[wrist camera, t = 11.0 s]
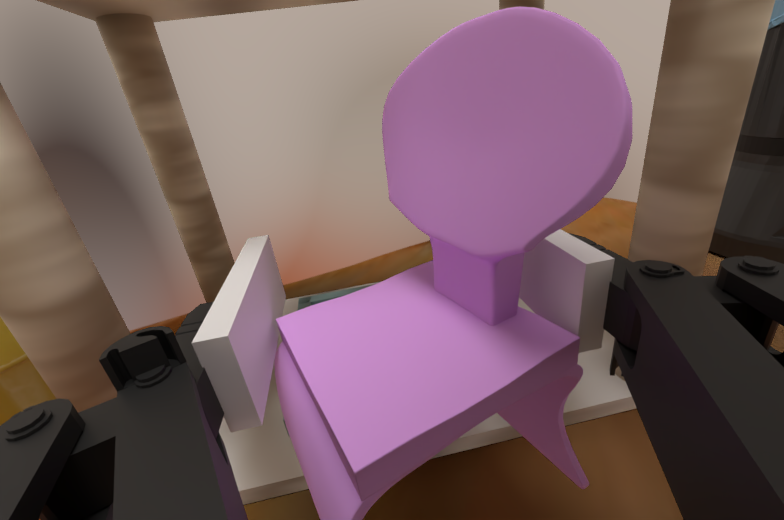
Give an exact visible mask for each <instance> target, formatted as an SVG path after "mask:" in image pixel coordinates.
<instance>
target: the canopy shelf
mask: <svg viewBox="0 0 784 520" xmlns="http://www.w3.org/2000/svg"><path fill="white" fill-rule="evenodd" d="M37 1H40V2H43V3H46V4H49V5H51V6H54V7H57V8H60V9H63V10H66V11H69V12H71V13H74V14H77V15H80V16H83V17H86V18H88V19H91V20H94V21H96V23H97V26H98V28H99V31H100V33H101V36H102V38H103V41H104V44H105V46H106V49H107V51H108V54H109V56H110V59H111V61H112V64H113V66H114V69H115V72H116V74H117V77H118V79H119V82H120V84H121V87H122V89H123V92H124V94H125V97H126V99H127V102H128V105H129V107H130V110H131V112H132V115H133V117H134V119H135V122H136V125H137V127H138V130H139V132H140V135H141V138H142V140H143V143H144V145H145V147H146V150H147V153H148V155H149V158H150V160H151V163H152V165H153V168H154V171H155V173H156V176H157V178H158V181H159V183H160V185H161V188H162V191H163V193H164V196H165V198H166V201H167V203H168V206H169V209H170V211H171V214H172V216H173V219H174V221H175V224H176V226H177V229H178V232H179V234H180V237H181V239H182V242H183V244H184V247H185V249H186V252H187V254H188V257H189V259H190V262H191V265H192V267H193V269H194V272H195V275H196V277H197V280H198V282H199V285H200V287H201V290H202V292H203V295H204V298H205V300H206V302H207V303H209V302H214V300H215V299H216V297H217V295H218V293H219V291H220V289H221V288H222V286H223V284H224V282H225V280H226V278H227V276H228V275H229V273H230V271H231V269H232V267H233V265H234V264H235V263H234V260H233V257H232V254H231V251H230V248H229V245H228V242H227V239H226V236H225V234H224V230H223V227H222V224H221V222H220V218H219V215H218V212H217V209H216V207H215V204H214V201H213V198H212V195H211V192H210V189H209V186H208V183H207V180H206V178H205V174H204V171H203V168H202V165H201V162H200V159H199V156H198V153H197V150H196V147H195V144H194V141H193V139H192V135H191V133H190V130H189V127H188V124H187V121H186V118H185V115H184V112H183V109H182V106H181V103H180V100H179V97H178V94H177V91H176V88H175V85H174V82H173V79H172V76H171V73H170V70H169V67H168V64H167V61H166V58H165V55H164V53H163V50H162V47H161V44H160V41H159V38H158V35H157V32H156V29H155V26H154V23H153V22H160V21H169V20H179V19H188V18H197V17H206V16H215V15H225V14H235V13H244V12H253V11H263V10H272V9H281V8H291V7H300V6H309V5H319V4H328V3H338V2H347V1H355V0H37ZM499 2H500V3H499V10H502V9H505V8H511V7H519V6H520V7H535V8H539V9H543V10H544V0H499ZM774 3H775V0H671V3H670V9H669V15H668V21H667V27H666V34H665V39H664V46H663V51H662V57H661V63H660V69H659V75H658V81H657V87H656V93H655V99H654V106H653V111H652V117H651V123H650V130H649V135H648V141H647V148H646V153H645V159H644V166H643V171H642V178H641V183H640V189H639V196H638V201H637V207H636V213H635V219H634V225H633V231H632V237H631V243H630V249H629V255H628V260H630V261H632V262H635V261H641V260H656V261H664V262H668V263H673V264H675V265H679V266H681V267H683V268H684V269H686V270H687V271H689V272H690V273H691V274H692V275H693V276H702V273H703V270H704V266H705V262H706V258H707V255H708V251H709V247H710V243H711V240H712V236H713V232H714V228H715V225H716V221H717V217H718V213H719V210H720V206H721V202H722V198H723V195H724V191H725V187H726V183H727V180H728V176H729V172H730V168H731V164H732V161H733V157H734V153H735V149H736V146H737V142H738V138H739V134H740V131H741V127H742V123H743V119H744V116H745V112H746V108H747V104H748V101H749V97H750V93H751V89H752V86H753V82H754V78H755V74H756V71H757V67H758V63H759V59H760V56H761V52H762V48H763V44H764V41H765V37H766V33H767V29H768V26H769V22H770V18H771V14H772V11H773V7H774ZM381 282H382V281H381ZM377 283H380V282H375V283H370V284H365V285H360V286H354V287H349V288H344V289H339V290H333V291H328V292H323V293H318V294H312V295H307V296H302V297H296V298H291V299H286V300H285V305H284V310H283V316H285V315H287V314H290V313H293V312H296V311H298V310H301V309H304V308H306V307H309V306H312V305H315V304H318V303H321V302H325V301H328V300H331V299H335V298H338V297H342V296H345V295H348V294H351V293H353V292H356V291H359V290H361V289H364V288H367V287H369V286H372V285H375V284H377ZM518 306H519V307H521V308H524V309H526V310H528V311H530V312H532V313H534V312H533V311H532V310H531V309H530V308H529V307H528V306H527V305H526V304H525V303H524V302H523V301H522V300H521V299H520V298H519V300H518ZM0 317H1V319H2V320H3V321H4V323H5V324H6V326H7V327H8V329H9V330H10V332H11V333H12V335H13V336H14V337H15V339H16V340H17V342H18V343H19V345H20V346H21V348H22V349H23V351H24V352H25V354H26V355H27V356H28V358H29V359H30V361H31V362H32V364H33V365H34V367H35V368H36V370H37V371H38V372H39V374H40V375H41V377H42V378H43V380H44V381H45V383H46V384H47V386H48V387H49V389H50V390H51V391H52V393H53V394H54V396H55V397H56V399H59V398H60V399H69V401H70V402H71V403H72V404H73V406H74V407H75V409H76V410H77V412H81V411H83V410H86V409H88V408H91V407H94V406H96V405H99V404H101V403H104V402H106V401H109V400H111V399H113V398H116V397H117V391H116V389H115V387H114V386H113V384H112V382H111V380H110V379H109V377H108V375H107V374H106V372H105V370H104V369H103V367H102V365H101V363H100V362H99V359H100V357H101V355H102V353H103V352H104V351H105V350H106V349H107V348H108V347H109V346H110V345H112V344H113V343H115V342H116V341H118V340H120V339H121V338H123V337H125V336H127V335H130V332H129V330H128V328H127V326H126V324H125V322H124V320H123V318H122V317H121V315H120V313H119V311H118V309H117V307H116V305H115V303H114V301H113V299H112V297H111V295H110V293H109V291H108V289H107V288H106V286H105V284H104V282H103V280H102V278H101V276H100V274H99V272H98V270H97V268H96V266H95V265H94V262H93V261H92V259H91V257H90V255H89V253H88V251H87V249H86V247H85V245H84V243H83V241H82V239H81V238H80V236H79V234H78V232H77V230H76V228H75V226H74V224H73V222H72V220H71V218H70V216H69V214H68V212H67V210H66V209H65V207H64V205H63V203H62V201H61V199H60V197H59V195H58V193H57V191H56V189H55V187H54V186H53V183H52V182H51V180H50V178H49V176H48V174H47V172H46V170H45V168H44V166H43V164H42V162H41V160H40V158H39V157H38V154H37V153H36V151H35V149H34V147H33V145H32V143H31V141H30V139H29V137H28V135H27V133H26V131H25V130H24V128H23V126H22V124H21V122H20V120H19V118H18V116H17V114H16V112H15V110H14V108H13V106H12V104H11V102H10V100H9V99H8V97H7V95H6V93H5V91H4V89H3V87H2V85H1V83H0ZM614 339H615V338H614V337H613V336H612V335H611V334H610V333H608V332H607V331H606V330H605V329H604V334H603V340H602V347H601V348H599V349H595V350H591V351H586V352H582V353H578V362H577V364H579V365H580V366H581V367H582V369H583V375H582V377H581V379H580V381H579V382H578V384H577V385H576V386H575V388H574V389H573V390H572V391H571V393H570V394H569V395H568V398H567V400H566V402H565V405H564V411H563V421H564V425H565V426H567V425H571V424H575V423H579V422H583V421H587V420H591V419H595V418H599V417H604V416H608V415H612V414H616V413H620V412H624V411H628V410H632V409H636V405H635V403H634V400H633V398H632V396H631V393H630V391H629V389H628V386H627V384H626V381H625V379H624V377H623V376H621V373H622V372H621V370H620V367H619V366H618V367H617V368H616V370H615V376H612V375H610V364H611V358H612V352H613V345H614ZM281 342H282V338H281V335H280V332H279V337H278V343H277V348H276V351H277V349H278V347H279V345H280V344H281ZM275 354H276V353H275ZM274 361H275V359H274ZM219 433H220V436H221V438H222V440H223V442H224V445H225V448H226V451H227V454H228V458H229V461H230V464H231V467H232V470H233V474H234V477H235V480H236V483H237V487H238V490H239V493H240V496H241V499H242V503H243V505H245V504H249V503H253V502H257V501H261V500H265V499H269V498H273V497H278V496H282V495H286V494H290V493H294V492H298V491H302V490H306V489H309V488H308V485H307V482H306V479H305V477H304V474H303V471H302V468H301V466H300V463H299V460H298V458H297V455H296V452H295V449H294V447H293V444H292V441H291V438H290V436H289V433H288V430H287V427H286V424H285V420H284V417H283V413H282V410H281V405H280V401H279V396H278V391H277V385H276V378H275V365H274V364H273V370H272V375H271V381H270V386H269V391H268V397H267V402H266V408H265V413H264V418H263V424H262V426H258V427H253V428H249V429H245V430H240V431H236V432H230V430H229V427H228V425H227V423H226V421H225V418H224V416H223V420H222V423H221V426H220V429H219ZM518 437H522V435H521V434H520V433H519V432H518V431H517V430H515V429H514V428H513V427H512V426H511V425H510V424H509V423H508V422H507V421H505V420H504V419H503V418H502V417H501V416H500V415H499V414H498V413H495V414H494V415H492V416H491V417H489V418H487V419H486V420H484V421H483V422H481V423H480V424H478V425H476V426H475V427H474V428H472V429H471V430H469V431H468V432H466V433H465V434H463V435H462V436H461V437H459V438H458V439H456V440H455V441H454V442H452V443H451V444H450V445H448V446H447V447H446V448H444V449H443V450H441V451H440V452H439V453H437V454H436V455H435V456H433V457H432V458H436V457H441V456H445V455H449V454H453V453H457V452H461V451H465V450H469V449H473V448H477V447H481V446H485V445H489V444H493V443H498V442H502V441H506V440H510V439H514V438H518ZM432 458H431V459H432Z"/></svg>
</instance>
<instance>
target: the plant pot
mask: <svg viewBox="0 0 784 520" xmlns="http://www.w3.org/2000/svg"><path fill="white" fill-rule="evenodd" d="M54 399H56V397H55V396H54V394H53V393H52V391H51V390H50V389H49V387H48V386H47V384H46V383H45V381H44V380H43V378H42V377H41V375H40V374H39V372H38V371H37V370H36V368H35V367H34V365H33V364H32V362H31V361H30V359H29V358H28V356H27V355H26V354H25V352H24V351H23V349H22V348H21V346H20V345H19V343H18V342H17V340H16V339H15V337H14V336H13V335H12V333H11V332H10V330H9V329H8V327H7V326H6V324H5V323H4V321H3V320H2V319H1V317H0V426H1V425H2V424H3V423H5V422H6V421H8V420H9V419H10V418H11V417H12V416H13V415H15V414H17V413H18V412H20V411H21V412H22V411H23V410H24V409H26V408H28V407H30V406H35V405H37V404H40V403H42V402H45V401H49V400H54Z"/></svg>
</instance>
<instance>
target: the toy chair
mask: <svg viewBox="0 0 784 520" xmlns="http://www.w3.org/2000/svg"><path fill="white" fill-rule="evenodd" d="M382 122H383V123H382V133H383V144H384V155H385V164H386V172H387V180H388V189H389V199H390V201H391V202H392V203H393V204H394V205H395V206H396V207H397V208H398V209H399V210H400V211H401V212H402V213H403V214H404V215H405V217H406V218H408V219H409V220H410V221H411V222H412V223H413V224H414V225H415V226H416V227H417V228H418V229H420V230H421V231H422V232H424V233H426V234H427V235H429V237H430V241H431V245H432V250H433V260H432V261H429V262H427V263H424V264H421V265H418V266H416V267H413V268H410V269H408V270H405V271H403V272H401V273H399V274H397V275H395V276H393V277H390V278H388V279H386V280H384V281H382V282H380V283H377V284H375V285H372V286H369V287H367V288H364V289H361V290H359V291H356V292H353V293H351V294H348V295H345V296H342V297H338V298H335V299H331V300H328V301H325V302H321V303H318V304H315V305H312V306H309V307H306V308H304V309H301V310H298V311H296V312H293V313H290V314H287V315H285V316H282V317H279V318H277V319H276V322H277V325H278V328H279V331H280V335H281V338H282V342H281V344H280V345H279V347H278V349H277V351H276V354H275V361H274V365H275V378H276V385H277V391H278V396H279V401H280V405H281V410H282V413H283V417H284V420H285V424H286V427H287V430H288V433H289V436H290V438H291V441H292V444H293V447H294V449H295V452H296V455H297V458H298V460H299V463H300V466H301V468H302V471H303V474H304V477H305V479H306V482H307V485H308V488H309V490H310V493H311V496H312V499H313V501H314V504H315V507H316V509H317V512H318V515H319V518H320V520H363V518H364V516H365V515H366V513H367V512H368V511H369V509H370V508H371V507H372V505H373V504H374V503H375V502H376V501H377V500H378V499H379V498H380V497H381V496H382V495H383V494H384V493H385V492H386V491H387V490H388V489H390V488H391V487H392V486H393V485H394V484H396V483H397V482H398V481H400V480H401V479H402V478H404V477H405V476H406V475H408V474H409V473H411V472H412V471H413V470H415V469H416V468H418V467H419V466H421V465H422V464H424V463H425V462H426V461H428V460H429V459H431V458H432V457H433V456H435V455H436V454H437V453H439V452H440V451H441V450H443V449H444V448H446V447H447V446H448V445H450V444H451V443H452V442H454V441H455V440H456V439H458V438H459V437H461V436H462V435H463V434H465V433H466V432H468V431H469V430H471V429H472V428H474V427H475V426H476V425H478V424H480V423H481V422H483V421H484V420H486V419H487V418H489V417H491V416H492V415H494V414H495V413H498V414H499V415H500V416H501V417H502V418H503V419H504V420H505V421H507V422H508V423H509V424H510V425H511V426H512V427H513V428H514V429H515V430H517V431H518V432H519V433H520V434H521V435H522V436H523V437H524V438H525V439H526V440H528V441H529V442H530V443H531V444H532V445H533V446H534V447H535V448H536V449H538V450H539V451H540V452H541V453H542V454H543V455H544V456H545V457H546V458H547V459H549V460H550V461H551V462H552V463H553V464H554V465H555V466H556V467H557V468H559V469H560V470H561V471H562V472H563V473H564V474H565V475H566V476H567V477H568V478H570V479H571V480H572V481H573V482H574V483H575V484H576V485H578V486H579V487H580V488H581V489H585V488H586V487H587V486H588V485H589V482H588V479H587V477H586V475H585V473H584V471H583V469H582V467H581V465H580V464H579V462H578V459H577V457H576V455H575V453H574V451H573V449H572V446H571V444H570V441H569V438H568V436H567V433H566V430H565V425H564V421H563V411H564V405H565V402H566V400H567V398H568V395H569V394H570V393H571V391H572V390H573V389H574V388H575V386H576V385H577V384H578V382H579V381H580V379H581V377H582V375H583V369H582V367H581V366H580V365H579V364H577V362H578V353H579V345H580V337H579V336H577V335H575V334H573V333H571V332H569V331H567V330H565V329H564V328H562V327H560V326H558V325H556V324H554V323H552V322H550V321H549V320H547V319H545V318H543V317H541V316H539V315H537V314H535V313H532V312H530V311H528V310H526V309H524V308H521V307H519V306H518V300H519V292H520V285H521V277H522V269H523V261H524V254H525V252H528V251H531V250H533V249H534V247H535V246H536V245H537V244H538V243H539V242H540V241H541V240H543V239H544V238H546V237H547V236H549V235H550V234H552V233H554V232H556V231H557V230H559V229H561V228H563V227H564V226H566V225H568V224H569V223H571V222H573V221H574V220H576V219H577V218H579V217H580V216H582V215H583V214H584V213H586V212H587V211H588V210H590V209H591V208H592V207H594V206H595V205H596V204H597V203H598V202H599V201H600V200H601V199H602V198H603V197H604V196H605V195H606V194H607V193H608V192H609V191H610V190H611V189H612V187H613V186H614V184H615V182H616V180H617V179H618V177H619V175H620V174H621V172H622V170H623V168H624V167H625V164H626V159H627V156H628V153H629V149H630V146H631V142H632V102H631V98H630V95H629V92H628V89H627V86H626V82H625V79H624V76H623V73H622V70H621V67H620V65H619V63H618V62H617V61H616V59H615V58H614V57H613V56H612V55H611V53H610V52H609V51H608V50H607V48H606V47H605V46H604V45H603V43H602V42H601V41H600V40H599V39H598V38H596V37H595V36H594V35H593V34H591V33H590V32H588V31H587V30H586V29H584V28H583V27H582V26H580V25H579V24H578V23H576V22H573V21H571V20H569V19H567V18H565V17H563V16H561V15H559V14H557V13H554V12H550V11H547V10H543V9H539V8H535V7H520V6H519V7H511V8H505V9H502V10H498V11H495V12H492V13H489V14H486V15H484V16H480V17H477V18H474V19H472V20H470V21H467V22H465V23H463V24H461V25H459V26H457V27H455V28H453V29H452V30H450V31H449V32H447V33H446V34H444V35H443V36H441V37H440V38H439V39H437V40H436V41H435V42H433V43H432V44H431V45H430V46H428V47H427V48H426V49H425V50H424V51H423V52H421V54H419V56H417V57H416V58H415V59H414V60H413V61H412V62H411V63H410V64H409V65H408V66H407V68H406V69H405V70H404V71H403V72H402V73H401V75H400V76H399V77H398V78H397V80H396V82H395V83H394V85H393V86H392V88H391V90H390V91H389V93H388V96H387V99H386V103H385V105H384V112H383V119H382Z"/></svg>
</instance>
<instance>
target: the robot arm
mask: <svg viewBox="0 0 784 520" xmlns="http://www.w3.org/2000/svg"><path fill="white" fill-rule="evenodd" d="M709 251H712V252H714V253H717V254H720V255H723V256H726V257H729V258H725V259H724V260H723V261H721V263H720V267H719V270H718V274H717V276H693V275H692V274H691V273H690V272H689V271H687V270H686V269H684V268H683V267H681V266H679V265H675V264H673V263H668V262H664V261H656V260H641V261H635V262H632V261H630V260H628V259H626V258H624V257H622V256H620V255H618V254H616V253H614V252H612V251H610V250H606V248H604V247H603V246H601V245H597V244H596V243H595V242H593V241H591V240H589V239H587V238H585V237H582V236H578V235H574V234H570V233H566V232H564V231H563V230H561V229H559V230H557V231H556V232H554V233H552V234H550V235H549V236H547V237H546V238H544V239H543V240H541V241H540V242H539V243H538V244H537V245H536V246H535V247H534V249H533V250H531V251H528V252H525V254H524V261H523V269H522V277H521V285H520V292H519V298H520V299H521V300H522V301H523V302H524V303H525V304H526V305H527V306H528V307H529V308H530V309H531V310H532V311H533V312H534V313H535V314H537V315H539V316H541V317H543V318H545V319H547V320H549V321H550V322H552V323H554V324H556V325H558V326H560V327H562V328H564V329H565V330H567V331H569V332H571V333H573V334H575V335H577V336H579V337H580V345H579V353H582V352H586V351H591V350H595V349H599V348H601V347H602V340H603V334H604V329H605V330H606V331H607V332H608V333H610V334H611V335H612V336H613V337H614V338H615V339H614V345H613V352H612V358H611V364H610V375H612V376H615V370H616V368H617V367H618V366H619V367H620V370H621V372H622V373H621V376H623V377H624V379H625V381H626V384H627V386H628V389H629V391H630V393H631V396H632V398H633V400H634V403H635V405H636V408H637V410H638V412H639V415H640V417H641V420H642V422H643V424H644V427H645V429H646V431H647V434H648V436H649V439H650V441H651V443H652V446H653V448H654V450H655V453H656V455H657V458H658V460H659V462H660V465H661V467H662V469H663V472H664V474H665V477H666V479H667V481H668V484H669V486H670V488H671V491H672V493H673V496H674V498H675V500H676V503H677V505H678V507H679V510H680V512H681V515H682V517H683V519H684V520H784V352H783V353H781V352H779V351H777V350H775V349H774V348H772V347H771V346H770V345H771V343H772V340H773V338H774V335H775V333H776V330H777V327H778V325H779V324H781V325H783V326H784V0H775V3H774V7H773V11H772V14H771V18H770V22H769V26H768V29H767V33H766V37H765V41H764V44H763V48H762V52H761V56H760V59H759V63H758V67H757V71H756V74H755V78H754V82H753V86H752V89H751V93H750V97H749V101H748V104H747V108H746V112H745V116H744V119H743V123H742V127H741V131H740V134H739V138H738V142H737V146H736V149H735V153H734V157H733V161H732V164H731V168H730V172H729V176H728V180H727V183H726V187H725V191H724V195H723V198H722V202H721V206H720V210H719V213H718V217H717V221H716V225H715V228H714V232H713V236H712V240H711V243H710V247H709ZM285 299H286V295H285V291H284V288H283V284H282V281H281V277H280V274H279V270H278V267H277V263H276V260H275V256H274V252H273V249H272V245H271V242H270V239H269V235H265V236H259V237H254V238H248V239H247V241H246V243H245V245H244V247H243V249H242V251H241V252H240V254H239V256H238V258H237V260H236V262H235V264H234V265H233V267H232V269H231V271H230V273H229V275H228V276H227V278H226V280H225V282H224V284H223V286H222V288H221V289H220V291H219V293H218V295H217V297H216V299H215V300H214V302H209V303H205V304H200V305H199V306H198V307H196V308H195V309H194V310H193V311H191V312H190V313H189V314H188V315H187V316H186V318H185V319H184V321H183V323H182V324H181V327H179V329H178V331H177V332H176V336H175V335H174V333H173V331H172V330H171V329H170V328H169V327H163V326H158V327H150V328H146V329H143V330H139V331H136V332H134V333H132V334H130V335H127V336H125V337H123V338H121V339H120V340H118V341H116V342H115V343H113V344H112V345H110V346H109V347H108V348H107V349H106V350H105V351H104V352H103V353H102V355H101V357H100V359H99V362H100V363H101V365H102V367H103V369H104V370H105V372H106V374H107V375H108V377H109V379H110V380H111V382H112V384H113V386H114V387H115V389H116V391H117V397H116V398H113V399H111V400H109V401H106V402H104V403H101V404H99V405H96V406H94V407H91V408H88V409H86V410H83V411H81V412H77V410H76V409H75V407H74V406H73V404H72V403H71V402H70V401H69V399H60V398H59V399H54V400H49V401H45V402H42V403H40V404H37V405H35V406H30V407H28V408H26V409H24V410H23V411H22V412H21V411H20V412H18V413H17V414H15V415H13V416H12V417H11V418H10V419H9V420H8V421H6V422H5V423H3V424H2V425H1V426H0V520H39V518H40V519H41V520H248V519H247V515H246V512H245V509H244V506H243V503H242V499H241V496H240V493H239V490H238V487H237V483H236V480H235V477H234V474H233V470H232V467H231V464H230V461H229V458H228V454H227V451H226V448H225V445H224V442H223V440H222V438H221V436H220V433H219V429H220V426H221V423H222V420H223V416H224V418H225V421H226V423H227V425H228V427H229V430H230V432H236V431H240V430H245V429H249V428H253V427H258V426H262V424H263V418H264V413H265V408H266V402H267V397H268V391H269V386H270V381H271V375H272V370H273V364H274V359H275V353H276V348H277V343H278V337H279V332H280V331H279V328H278V325H277V322H276V319H277V318H279V317H282V316H283V310H284V305H285Z"/></svg>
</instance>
